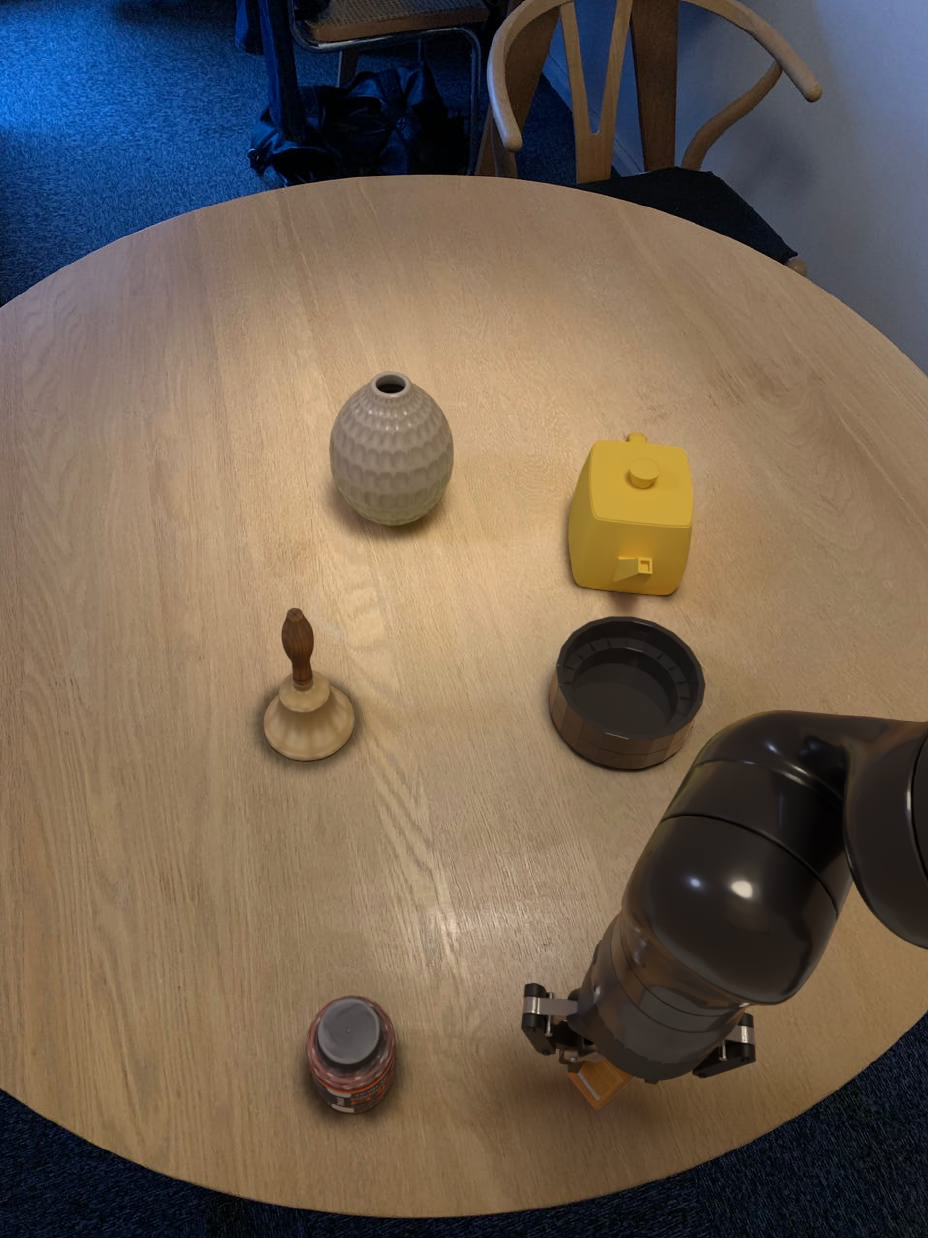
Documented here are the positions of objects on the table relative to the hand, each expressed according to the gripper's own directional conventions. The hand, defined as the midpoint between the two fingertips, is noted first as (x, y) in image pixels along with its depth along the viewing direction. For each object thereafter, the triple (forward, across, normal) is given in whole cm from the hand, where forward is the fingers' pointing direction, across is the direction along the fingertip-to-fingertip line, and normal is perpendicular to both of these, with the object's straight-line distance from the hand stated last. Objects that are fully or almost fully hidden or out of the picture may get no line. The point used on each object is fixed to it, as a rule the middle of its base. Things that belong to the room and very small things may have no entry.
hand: (611, 1061), depth 62 cm
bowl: (+8, +1, +33) cm, 34 cm away
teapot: (+8, +1, +53) cm, 53 cm away
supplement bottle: (+8, -17, -1) cm, 19 cm away
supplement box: (+6, 0, 0) cm, 6 cm away
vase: (+8, -24, +56) cm, 61 cm away
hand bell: (+8, -27, +27) cm, 39 cm away
